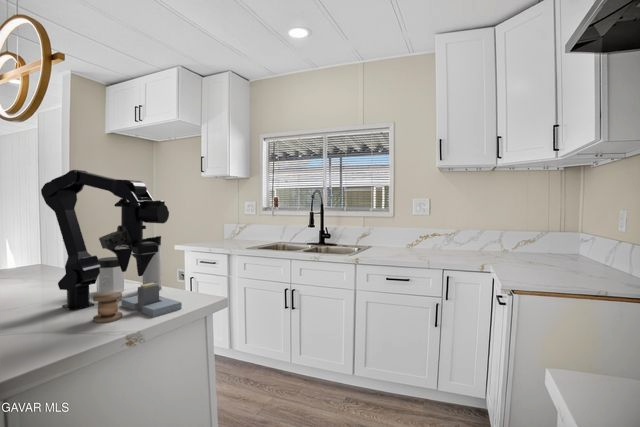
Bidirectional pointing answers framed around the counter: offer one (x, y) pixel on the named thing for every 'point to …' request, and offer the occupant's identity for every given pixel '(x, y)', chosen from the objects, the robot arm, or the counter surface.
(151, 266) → the travel mug
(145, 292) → the grey block
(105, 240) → the robot arm
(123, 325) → the counter surface
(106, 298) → the bobbin
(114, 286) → the jar
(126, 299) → the notched board
